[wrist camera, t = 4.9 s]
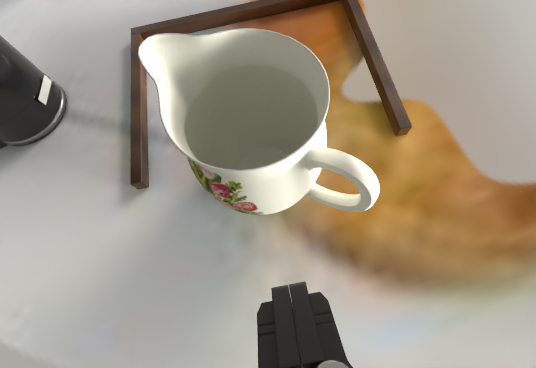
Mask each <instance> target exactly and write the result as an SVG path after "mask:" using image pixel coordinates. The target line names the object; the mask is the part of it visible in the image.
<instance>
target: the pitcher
mask: <svg viewBox="0 0 536 368" xmlns="http://www.w3.org/2000/svg"><path fill="white" fill-rule="evenodd" d="M138 56H139V59H140V62H141V64H142V65H143V67H144V68H145V70H146V71H147V73H148V74H149V75H150V77H151V78H152V79H153V80H154V82H155V84H156V87H157V91H158V100H159V111H160V116H161V120H162V123H163V126H164V129H165V131H166V133H167V134H168V136H169V138H170V140H171V141H172V142H173V143H174V145H175V146H176V147H177V148H178V149H179V150H180V151H181V152H182V153H183V154H184V155H185V156H187V159H188V161H189V164H190V166H191V169H192V171H193V172H194V174H195V176H196V177H197V179H198V181H199V182H200V183H201V184H202V186H203V187H204V188H205V189H206V190H207V191H208V192H209V193H210V194H211V195H212V196H213V197H214V198H216V199H217V200H218V201H220V202H221V203H222V204H224V205H226V206H228V207H230V208H232V209H234V210H237V211H239V212H243V213H248V214H255V215H265V214H272V213H276V212H279V211H282V210H285V209H287V208H289V207H291V206H292V205H294V204H295V203H297V202H298V201H299V200H300V199H301V198H302V197H303V196H307V197H309V198H311V199H314V200H316V201H318V202H320V203H323V204H325V205H328V206H330V207H333V208H337V209H340V210H344V211H350V212H361V211H365V210H367V209H369V208H370V207H372V205H373V204H374V203H375V201H376V199H377V197H378V195H379V191H380V188H379V182H378V179H377V177H376V175H375V174H374V172H373V171H372V170H371V169H370V168H369V167H368V166H367V165H366V164H365V163H363V162H362V161H360V160H359V159H357V158H355V157H353V156H351V155H349V154H347V153H344V152H341V151H338V150H334V149H330V148H326V143H327V133H326V125H325V121H324V120H325V117H326V114H327V111H328V107H329V101H330V87H329V81H328V77H327V74H326V72H325V69H324V67H323V65H322V64H321V62H320V61H319V59H318V58H317V57H316V56H315V55H314V54H313V52H312V51H311V50H309V49H308V48H307V47H306V46H304V45H303V44H301V43H300V42H298V41H297V40H295V39H293V38H290V37H288V36H286V35H283V34H280V33H277V32H273V31H269V30H262V29H251V28H244V29H232V30H226V31H221V32H216V33H212V34H206V35H189V34H180V33H162V34H155V35H152V36H150V37H148V38H147V39H145V40H144V41H143V42H142V43H141V45H140V46H139V49H138ZM321 168H325V169H328V170H331V171H334V172H336V173H339V174H341V175H343V176H344V177H346V178H347V179H349V180H350V181H351V182H353V183H354V184H355V185H356V187H357V188H358V190H359V191H360V194H358V195H350V194H344V193H339V192H335V191H332V190H329V189H326V188H324V187H321V186H319V185H317V184H316V183H315V181H316V179H317V177H318V176H319V174H320V171H321Z"/></svg>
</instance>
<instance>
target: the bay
mask: <svg viewBox="0 0 536 368" xmlns="http://www.w3.org/2000/svg"><path fill="white" fill-rule="evenodd" d="M333 1H337V0H258V1H254V2H249V3H245V4H240V5H236V6H231V7H227V8H222V9H217V10H213V11H208V12H204V13H199V14H195V15H190V16H186V17H181V18H176V19H172V20H167V21H163V22H158V23H154V24H149V25H145V26H140V27H136V28H131V185H133V186H134V187H136V188H137V189H141V188H146V187H149V181H148V136H147V92H146V70H145V68H144V67H143V65H142V64H141V62H140V59H139V56H138V49H139V46H140V45H141V43H142V42H143V41H144V40H145V39H147V38H148V37H150V36H152V35H155V34H162V33H180V34H186V33H191V32H195V31H200V30H204V29H209V28H214V27H218V26H223V25H227V24H232V23H237V22H241V21H246V20H250V19H255V18H259V17H264V16H269V15H273V14H278V13H282V12H287V11H292V10H296V9H301V8H305V7H310V6H314V5H319V4H324V3H328V2H333ZM342 2H343V5H344V7H345V10H346V12H347V15H348V17H349V20H350V22H351V25H352V27H353V30H354V33H355V35H356V38H357V40H358V43H359V45H360V48H361V50H362V53H363V55H364V58H365V60H366V63H367V65H368V68H369V70H370V73H371V75H372V78H373V80H374V83H375V85H376V88H377V90H378V93H379V95H380V98H381V100H382V103H383V105H384V108H385V111H386V113H387V116H388V118H389V121H390V123H391V126H392V128H393V131H394V133H395V136H401V135H405V134H407V133H408V132H409V130H410V129H411V127H412V125H411V123H410V120H409V118H408V116H407V113H406V111H405V109H404V106H403V104H402V102H401V99H400V97H399V95H398V93H397V90H396V88H395V85H394V83H393V81H392V78H391V76H390V74H389V72H388V69H387V67H386V64H385V62H384V60H383V57H382V55H381V53H380V50H379V48H378V46H377V43H376V41H375V39H374V37H373V34H372V32H371V29H370V27H369V25H368V22H367V20H366V18H365V15H364V13H363V11H362V8H361V6H360V4H359V1H358V0H342Z"/></svg>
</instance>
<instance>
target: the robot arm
mask: <svg viewBox="0 0 536 368" xmlns="http://www.w3.org/2000/svg"><path fill="white" fill-rule="evenodd" d="M66 104H67V99H66V94H65V92H64V90H63V89H62V88H61V87H60V86H59V85H58V84H57V83H55V82H54V81H52V80H51V79H50V78H49V77H48V76H47V75H45V74H44V73H43V72H42V71H40V70H39V69H38V68H37V67H36V66H35V65H34V64H33V63H31V62H30V61H29V60H28V59H27V58H26V57H24V56H23V55H22V54H21V53H20V52H19V51H18V50H16V49H15V48H14V47H13V46H12V45H11V44H10V43H8V42H7V41H6V40H5V39H4V38H3V37H2V36H0V148H2V147H4V146H6V145H15V146H17V145H25V144H29V143H32V142H34V141H37V140H39V139H40V138H42V137H44V136H45V135H47V134H48V133H49V132H50V131H51V130H53V129H54V128H55V126H56V125H57V124H58V123H59V121H60V120H61V118H62V116H63V114H64V112H65V109H66ZM289 287H290V293H291V297H290V293H289V288H288V285H285V286H280V287H275V288H272V301H270V302H265V303H262V304H261V306H260V308H259V311H258V313H257V325H258V327H257V328H258V368H353V367H352V366H351V365H350V363H349V362H348V360H347V358H346V355H345V352H344V349H343V346H342V343H341V340H340V337H339V333H338V330H337V327H336V324H335V321H334V318H333V315H332V312H331V308H330V305H329V302H328V300H327V299H326V298H325V297H324V296H323V295H322V293H321V292H317V293H311V294H308V290H307V286H306V282H300V283H295V284H290V285H289ZM291 299H292V302H291ZM292 305H293V306H292Z"/></svg>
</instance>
